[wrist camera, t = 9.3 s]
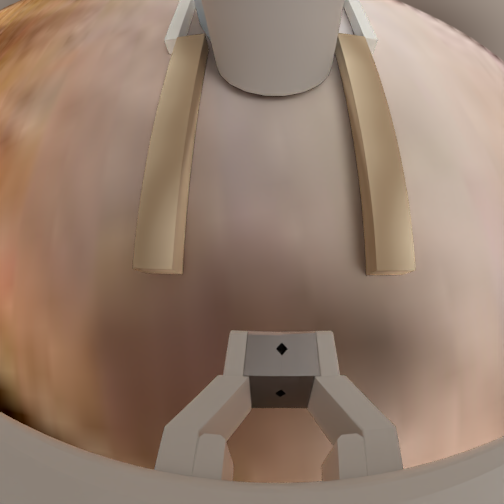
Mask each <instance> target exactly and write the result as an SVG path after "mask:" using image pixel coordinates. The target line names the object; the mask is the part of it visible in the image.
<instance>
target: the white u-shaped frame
mask: <svg viewBox="0 0 504 504" xmlns="http://www.w3.org/2000/svg"><path fill="white" fill-rule="evenodd" d="M343 8H344V9H345V11H346V14H347V16H348V19H349V21H350V24H351V26H352V29H353V32H354V34H355V35H358V36H364V37H365V38H366V41H367V43H368V46H369V49H370V51H371V53H372V54H373V53H374V50H375V47H376V44H377V41H378V39H377V37H376V34H375V32H374V30H373V28H372V26H371V23H370V21H369V19H368V17H367V15H366V13H365V11H364V9H363V7H362V5H361V3H360V1H359V0H344V4H343ZM195 9H196V6H195V2H194V0H180V1H179V4H178V6H177V9H176V11H175V13H174V16H173V18H172V21H171V23H170V26H169V29H168V31H167V34H166V37H165V39H164V42H165V44H166V47H167V49H168V52H169V54H172V52H173V49H174V45H175V42H176V39H177V37H182V36H187V34H188V30H189V27H190V24H191V21H192V17H193V14H194V11H195Z"/></svg>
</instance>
